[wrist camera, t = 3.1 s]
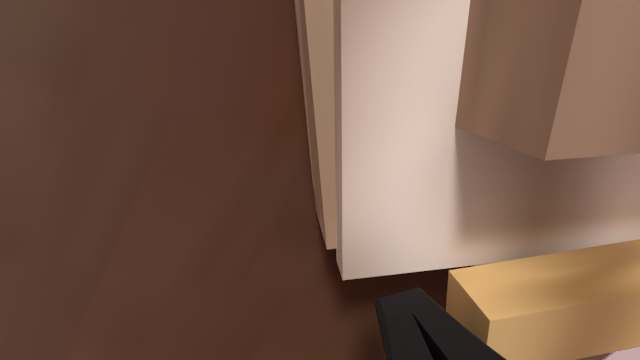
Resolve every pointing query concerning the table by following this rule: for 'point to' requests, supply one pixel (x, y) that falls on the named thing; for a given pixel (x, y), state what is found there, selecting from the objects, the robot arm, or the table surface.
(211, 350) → the table surface
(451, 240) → the lid
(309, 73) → the wooden tray
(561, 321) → the light wooden bar
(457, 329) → the robot arm
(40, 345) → the table surface
